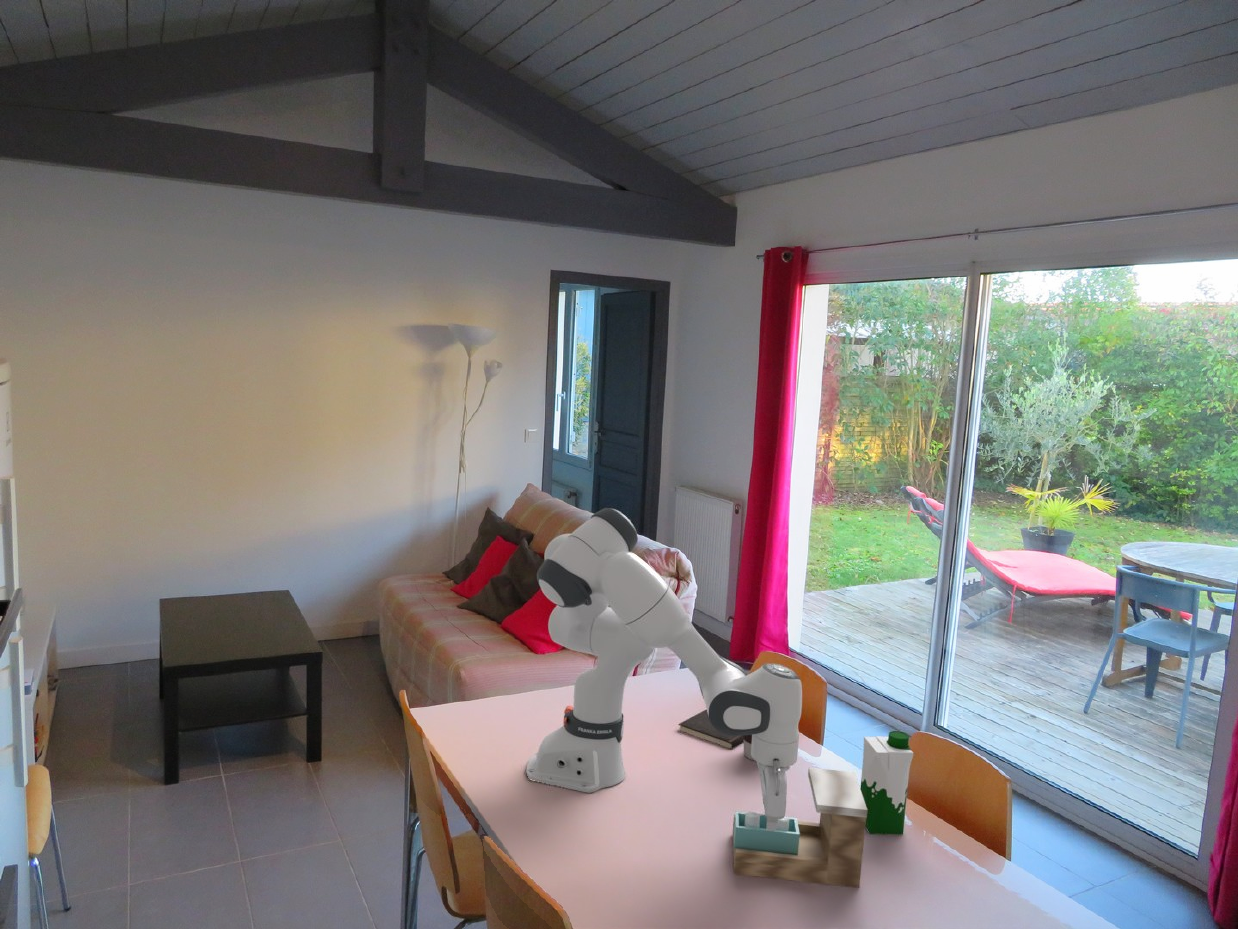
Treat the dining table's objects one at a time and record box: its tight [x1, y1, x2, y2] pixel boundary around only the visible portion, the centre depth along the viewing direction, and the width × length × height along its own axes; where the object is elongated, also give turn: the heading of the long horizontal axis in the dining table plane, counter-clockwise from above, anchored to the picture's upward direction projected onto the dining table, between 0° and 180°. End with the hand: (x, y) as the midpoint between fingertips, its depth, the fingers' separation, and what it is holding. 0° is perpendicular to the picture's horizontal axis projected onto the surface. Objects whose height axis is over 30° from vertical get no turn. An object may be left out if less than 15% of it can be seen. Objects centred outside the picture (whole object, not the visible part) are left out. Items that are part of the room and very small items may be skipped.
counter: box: [732, 767, 867, 889], centre depth 172 cm, size 23×15×16 cm, turn 84°
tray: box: [733, 811, 800, 855], centre depth 173 cm, size 12×6×6 cm, turn 84°
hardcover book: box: [677, 708, 744, 750], centre depth 235 cm, size 16×23×2 cm
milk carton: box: [860, 730, 914, 835], centre depth 187 cm, size 9×9×20 cm
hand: (768, 816), depth 173 cm, fingers open, 8 cm apart
